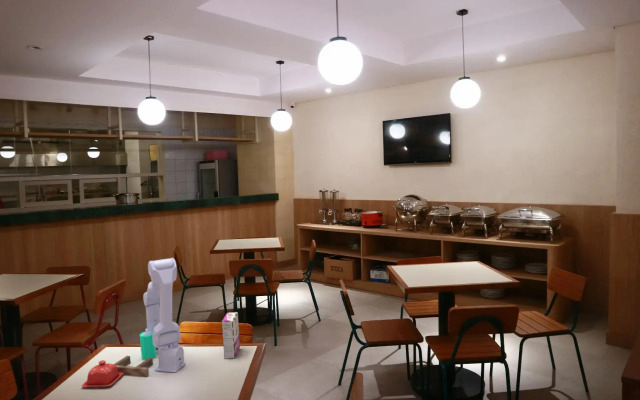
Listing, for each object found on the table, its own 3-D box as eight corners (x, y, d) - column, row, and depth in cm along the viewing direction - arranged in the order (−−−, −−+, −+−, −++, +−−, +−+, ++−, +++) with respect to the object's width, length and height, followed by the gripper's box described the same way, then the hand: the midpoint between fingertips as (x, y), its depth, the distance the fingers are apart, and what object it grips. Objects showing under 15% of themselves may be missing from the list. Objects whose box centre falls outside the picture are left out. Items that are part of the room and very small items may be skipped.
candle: (159, 353, 200) (156, 327, 199) (152, 360, 194) (150, 332, 193) (145, 353, 201) (143, 327, 199) (139, 360, 195) (136, 332, 193)
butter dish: (96, 375, 182) (95, 354, 181) (125, 375, 181) (123, 354, 180) (80, 390, 170) (78, 367, 170) (110, 389, 170) (109, 367, 169)
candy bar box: (228, 348, 204) (227, 312, 203) (240, 348, 204) (238, 311, 203) (223, 359, 193) (221, 320, 192) (235, 358, 193) (233, 320, 191)
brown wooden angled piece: (161, 365, 189) (161, 358, 189) (146, 376, 179) (145, 369, 178) (119, 362, 193) (118, 355, 193) (101, 373, 183) (101, 365, 183)
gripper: (155, 313, 209) (156, 342, 210) (135, 324, 195) (137, 355, 196) (169, 314, 207) (170, 343, 208) (149, 325, 193) (151, 356, 194)
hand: (155, 349), depth 202 cm, fingers closed
